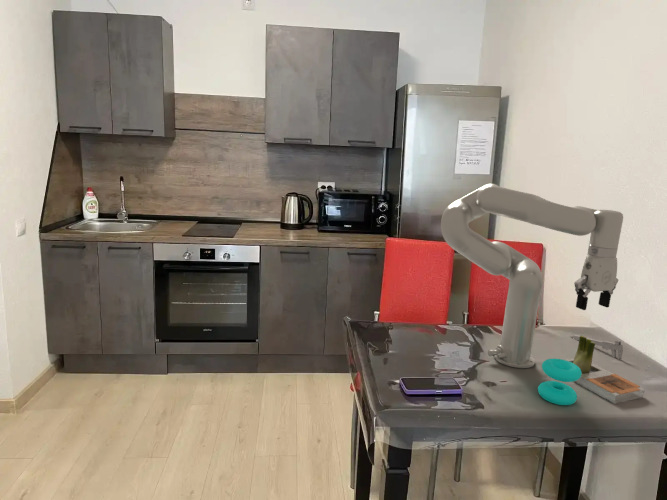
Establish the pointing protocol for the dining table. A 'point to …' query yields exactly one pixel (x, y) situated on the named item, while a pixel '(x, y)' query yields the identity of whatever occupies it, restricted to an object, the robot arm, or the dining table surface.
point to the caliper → (607, 346)
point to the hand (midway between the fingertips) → (592, 307)
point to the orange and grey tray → (609, 385)
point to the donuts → (555, 389)
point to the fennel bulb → (584, 354)
